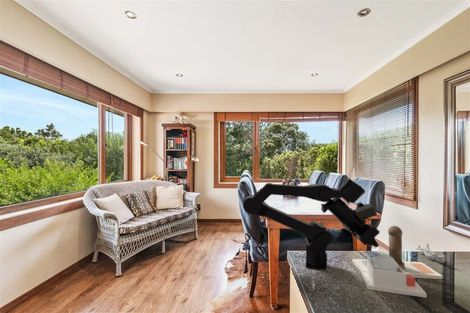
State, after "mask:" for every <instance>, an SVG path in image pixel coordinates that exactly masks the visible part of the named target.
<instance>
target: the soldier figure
mask: <svg viewBox="0 0 470 313" xmlns="http://www.w3.org/2000/svg"><path fill="white" fill-rule="evenodd" d="M425 244H426V248H425V247H421V245H418V246H417V247H416V251H417V250H419V251H421V252H424V253H423V254H422V255H424V256H425V257H426V258H427V259H428V260H429V261H438V262H439V263H441V264H444V263H445V262H446V260H447V255H446V254H442V255H440V254H438V253H437V252H435V251H432V250H431V249H430V247H429V246H430V245H429V243H425Z"/></svg>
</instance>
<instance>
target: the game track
mask: <svg viewBox="0 0 470 313" xmlns="http://www.w3.org/2000/svg"><path fill="white" fill-rule="evenodd" d="M402 262H404V263H405V268H404V269H403V271H404V272H405V273H406V275H412V276H413V277H414V278H415V279H417V278H418V279H433V280H443V279H444V278H443V275H442V274H440V273H438V272H437V271H436V270H434V269H433V268H431V267H429V266H428V265H427V264H425V263H424V262H419V261H403V260H402ZM352 263H353V264H354V265H355V266H356V268H358V270H359V272H361V273H362V272H367V259H364V258H363V259H361V258H352Z"/></svg>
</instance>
